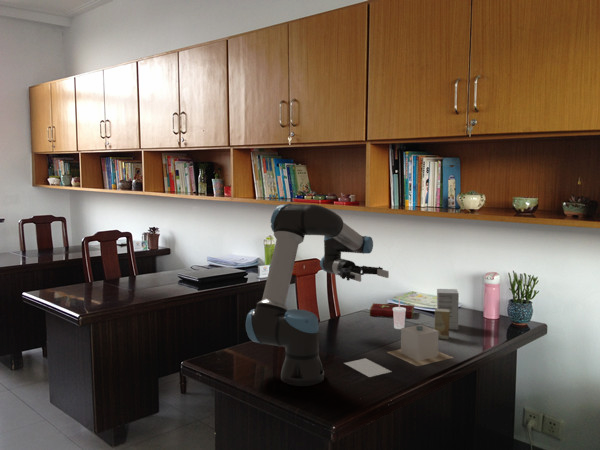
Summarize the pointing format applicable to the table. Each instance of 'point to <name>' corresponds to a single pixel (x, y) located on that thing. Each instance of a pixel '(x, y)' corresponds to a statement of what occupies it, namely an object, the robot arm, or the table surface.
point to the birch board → (422, 362)
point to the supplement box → (449, 305)
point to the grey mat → (367, 367)
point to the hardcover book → (390, 310)
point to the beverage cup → (399, 316)
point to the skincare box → (442, 323)
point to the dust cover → (419, 342)
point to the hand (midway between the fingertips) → (374, 276)
